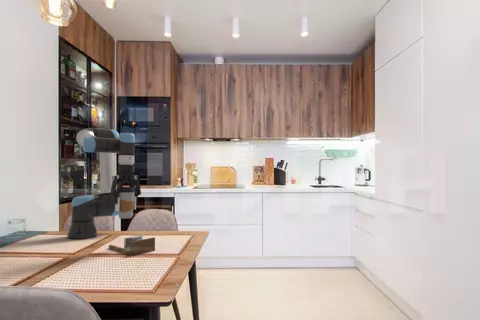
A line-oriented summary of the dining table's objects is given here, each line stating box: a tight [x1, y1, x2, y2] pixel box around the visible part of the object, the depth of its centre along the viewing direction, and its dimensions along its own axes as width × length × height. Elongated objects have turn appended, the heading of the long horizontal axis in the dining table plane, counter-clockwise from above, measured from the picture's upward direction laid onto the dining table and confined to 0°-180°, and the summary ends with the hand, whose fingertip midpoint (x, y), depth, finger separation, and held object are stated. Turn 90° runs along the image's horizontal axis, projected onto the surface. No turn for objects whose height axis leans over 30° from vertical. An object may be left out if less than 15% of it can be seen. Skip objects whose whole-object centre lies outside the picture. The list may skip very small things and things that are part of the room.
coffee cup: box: [118, 186, 135, 219], centre depth 159 cm, size 8×8×15 cm
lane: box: [108, 237, 156, 256], centre depth 155 cm, size 20×12×6 cm, turn 51°
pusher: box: [123, 235, 143, 250], centre depth 153 cm, size 4×9×6 cm, turn 140°
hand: (125, 209), depth 159 cm, fingers closed on coffee cup, 8 cm apart
